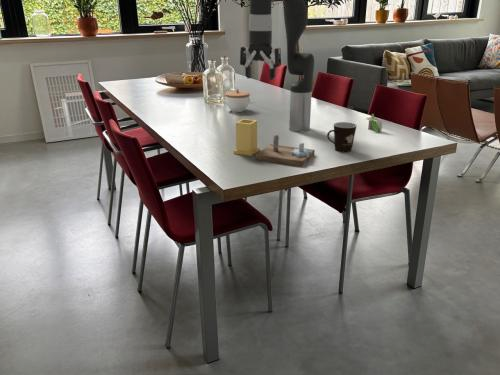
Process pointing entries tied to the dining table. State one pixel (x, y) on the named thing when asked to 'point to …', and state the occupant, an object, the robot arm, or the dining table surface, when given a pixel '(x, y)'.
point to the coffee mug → (343, 136)
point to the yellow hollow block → (246, 137)
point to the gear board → (282, 154)
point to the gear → (301, 151)
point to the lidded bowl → (237, 100)
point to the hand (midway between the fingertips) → (260, 78)
